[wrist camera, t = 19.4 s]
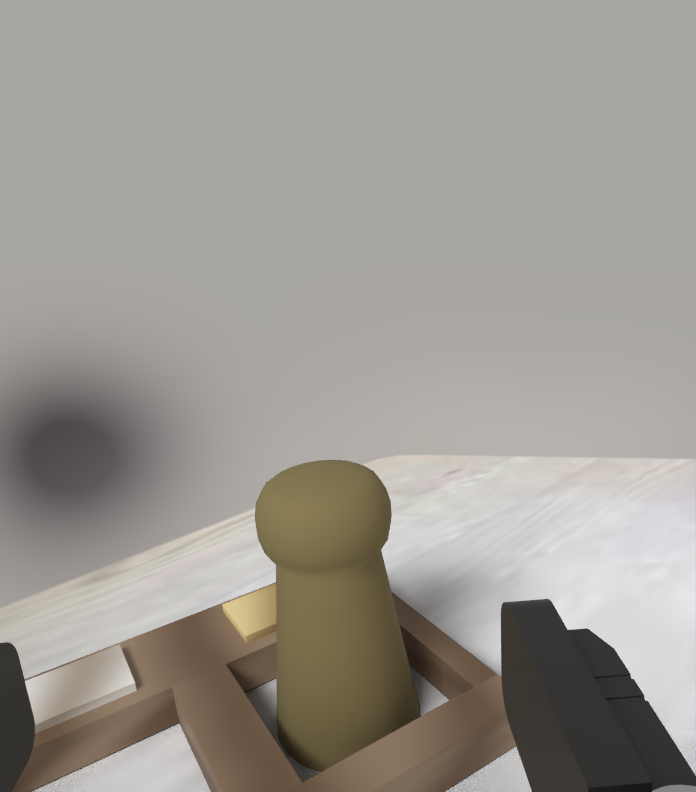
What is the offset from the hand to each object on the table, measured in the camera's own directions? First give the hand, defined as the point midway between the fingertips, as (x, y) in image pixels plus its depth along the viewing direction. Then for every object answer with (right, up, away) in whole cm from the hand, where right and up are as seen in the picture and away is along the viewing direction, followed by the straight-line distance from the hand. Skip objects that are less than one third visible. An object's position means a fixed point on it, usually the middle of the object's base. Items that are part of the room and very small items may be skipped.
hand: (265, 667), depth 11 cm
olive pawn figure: (+1, -9, +17) cm, 19 cm away
